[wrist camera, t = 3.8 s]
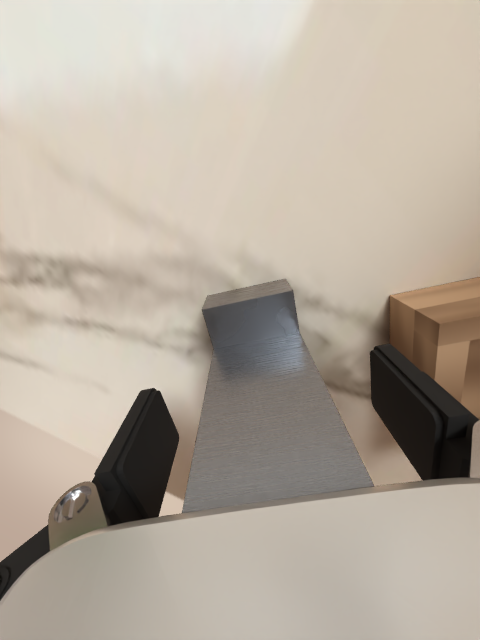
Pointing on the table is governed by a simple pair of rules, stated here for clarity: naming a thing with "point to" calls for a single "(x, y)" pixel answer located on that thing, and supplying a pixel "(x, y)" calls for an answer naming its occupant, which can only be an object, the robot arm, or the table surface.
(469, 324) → the wooden divided tray
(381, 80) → the table surface
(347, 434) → the finger
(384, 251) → the table surface
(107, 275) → the table surface
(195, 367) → the table surface
